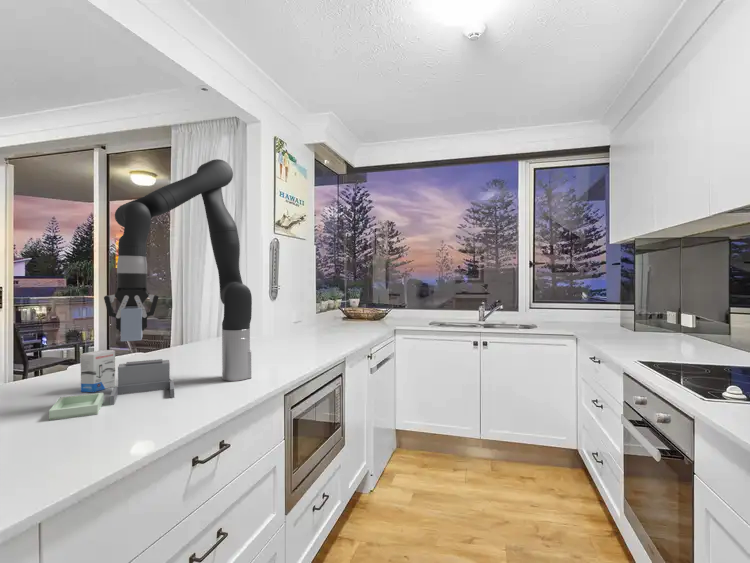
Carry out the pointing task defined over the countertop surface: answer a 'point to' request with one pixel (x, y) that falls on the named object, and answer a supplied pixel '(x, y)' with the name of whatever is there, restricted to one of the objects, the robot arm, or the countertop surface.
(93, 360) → the ink box
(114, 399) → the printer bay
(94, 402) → the tray
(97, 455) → the countertop surface
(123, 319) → the box with raised panel
